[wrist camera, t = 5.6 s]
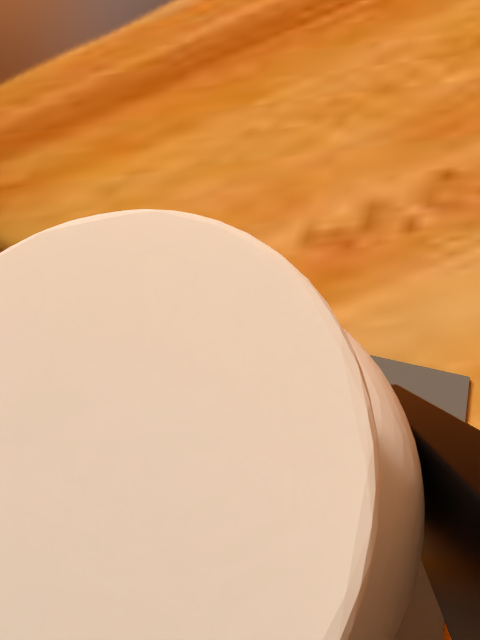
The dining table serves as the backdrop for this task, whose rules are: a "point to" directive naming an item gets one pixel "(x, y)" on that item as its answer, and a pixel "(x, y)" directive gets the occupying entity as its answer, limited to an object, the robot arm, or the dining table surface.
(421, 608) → the letter tile
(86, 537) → the supplement bottle
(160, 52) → the dining table surface
